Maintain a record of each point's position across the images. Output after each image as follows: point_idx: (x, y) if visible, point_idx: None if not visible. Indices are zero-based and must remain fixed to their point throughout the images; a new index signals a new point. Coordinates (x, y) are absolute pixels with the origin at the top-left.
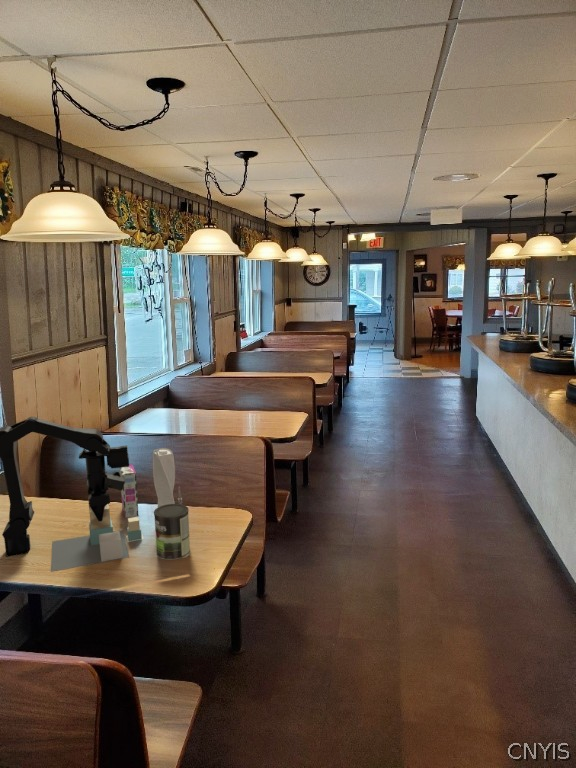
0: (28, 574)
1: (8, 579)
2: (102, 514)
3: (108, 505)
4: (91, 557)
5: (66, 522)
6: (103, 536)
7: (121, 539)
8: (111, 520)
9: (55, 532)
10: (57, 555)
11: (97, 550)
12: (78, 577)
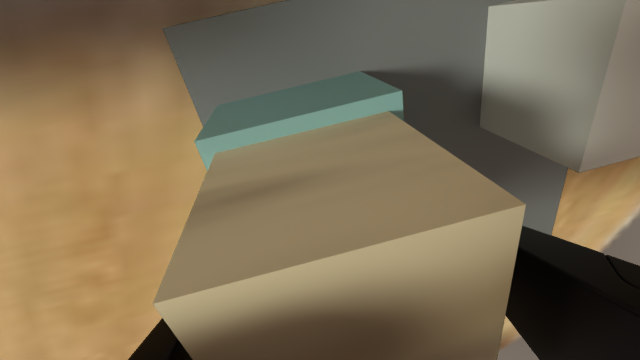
0: (505, 316)
1: (507, 345)
2: (556, 245)
3: (354, 255)
4: (507, 159)
5: (60, 357)
6: (635, 130)
7: (339, 19)
8: (245, 130)
9: None
10: None
11: (445, 147)
12: (623, 171)
